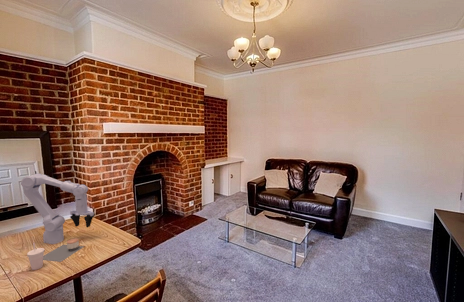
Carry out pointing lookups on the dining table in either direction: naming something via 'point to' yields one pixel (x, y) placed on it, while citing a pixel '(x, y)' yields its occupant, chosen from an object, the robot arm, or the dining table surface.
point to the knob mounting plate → (61, 253)
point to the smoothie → (36, 257)
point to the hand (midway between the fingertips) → (82, 226)
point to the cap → (72, 243)
